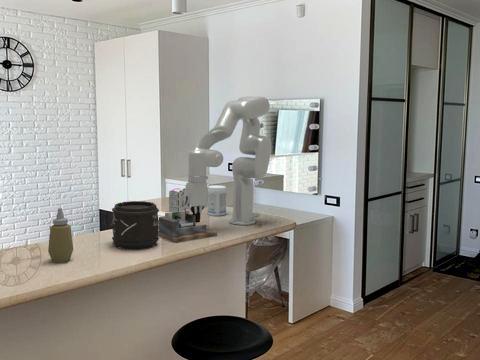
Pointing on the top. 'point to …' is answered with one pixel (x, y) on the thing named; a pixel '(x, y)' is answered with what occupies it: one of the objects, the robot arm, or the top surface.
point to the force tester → (175, 234)
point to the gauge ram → (187, 220)
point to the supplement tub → (216, 200)
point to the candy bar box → (176, 200)
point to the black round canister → (135, 225)
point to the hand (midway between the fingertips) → (196, 221)
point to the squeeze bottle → (60, 239)
